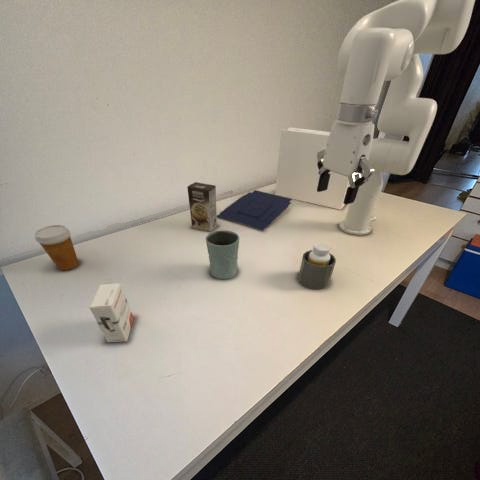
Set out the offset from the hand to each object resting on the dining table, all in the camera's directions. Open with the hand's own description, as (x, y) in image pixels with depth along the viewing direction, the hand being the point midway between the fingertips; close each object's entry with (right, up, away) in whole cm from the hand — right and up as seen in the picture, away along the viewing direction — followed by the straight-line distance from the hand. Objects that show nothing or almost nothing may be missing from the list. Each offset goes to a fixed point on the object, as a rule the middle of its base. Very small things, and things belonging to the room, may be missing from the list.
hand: (334, 196), depth 68 cm
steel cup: (-1, -20, +15) cm, 25 cm away
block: (+11, +29, +65) cm, 72 cm away
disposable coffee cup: (-82, -14, +19) cm, 86 cm away
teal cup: (-30, -16, +18) cm, 39 cm away
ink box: (-55, -35, -1) cm, 65 cm away
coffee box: (-39, +7, +41) cm, 58 cm away
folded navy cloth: (-17, +17, +52) cm, 57 cm away
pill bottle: (-1, -19, +15) cm, 24 cm away
